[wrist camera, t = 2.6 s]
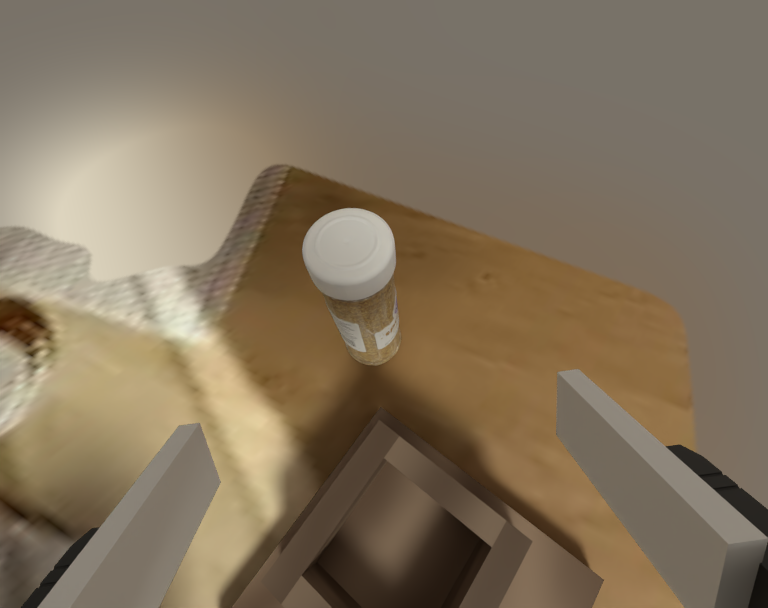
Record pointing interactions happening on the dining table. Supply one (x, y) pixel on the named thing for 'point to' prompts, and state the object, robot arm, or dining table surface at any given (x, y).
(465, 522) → the spice caddy
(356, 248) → the sprinkles bottle
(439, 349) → the dining table surface
